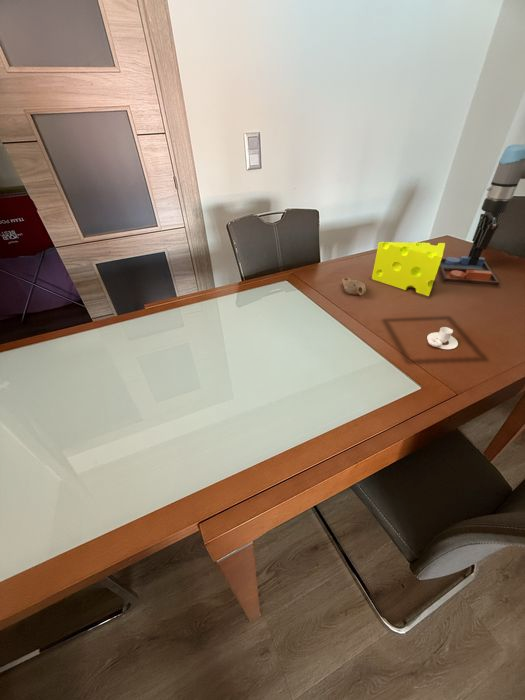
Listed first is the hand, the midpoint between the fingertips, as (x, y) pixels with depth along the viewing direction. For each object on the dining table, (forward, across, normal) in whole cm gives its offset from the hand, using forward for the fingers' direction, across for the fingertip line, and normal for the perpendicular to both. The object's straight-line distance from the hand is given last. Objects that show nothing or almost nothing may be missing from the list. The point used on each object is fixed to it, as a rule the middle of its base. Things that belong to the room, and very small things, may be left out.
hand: (471, 263), depth 120 cm
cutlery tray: (+3, +5, -2) cm, 6 cm away
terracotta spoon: (+2, +9, -2) cm, 10 cm away
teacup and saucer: (+3, +52, -20) cm, 56 cm away
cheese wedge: (+3, +19, -24) cm, 30 cm away
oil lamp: (+3, +28, -44) cm, 52 cm away
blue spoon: (0, 0, -3) cm, 3 cm away
